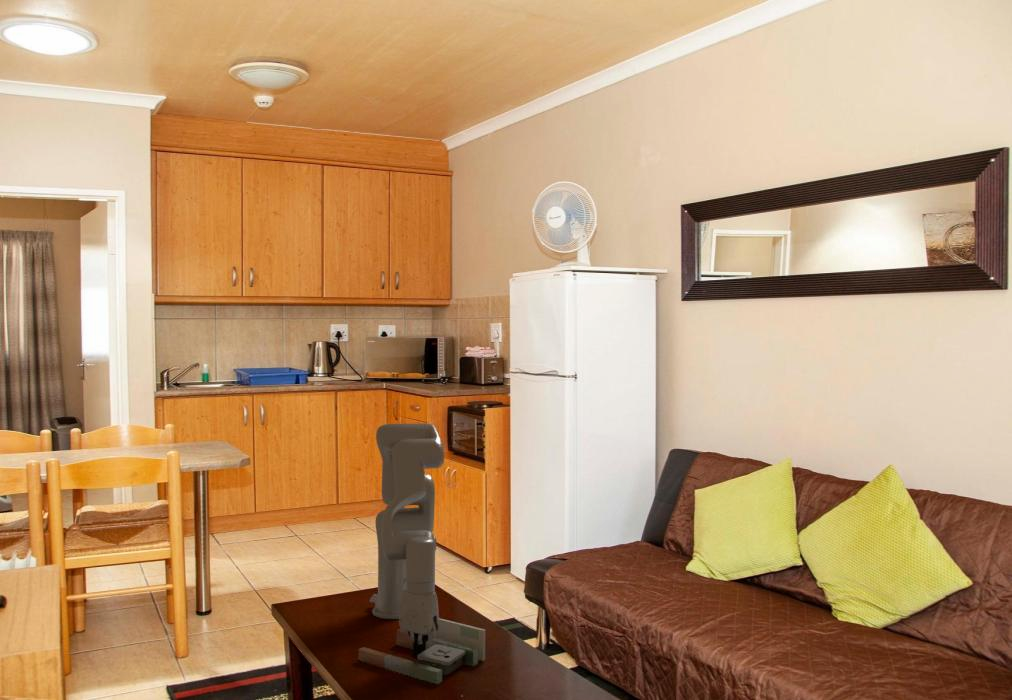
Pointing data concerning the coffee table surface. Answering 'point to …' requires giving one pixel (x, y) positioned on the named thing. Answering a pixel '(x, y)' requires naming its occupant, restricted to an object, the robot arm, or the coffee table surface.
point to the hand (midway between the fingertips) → (419, 657)
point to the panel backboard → (463, 635)
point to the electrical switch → (442, 658)
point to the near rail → (400, 665)
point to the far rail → (467, 659)
